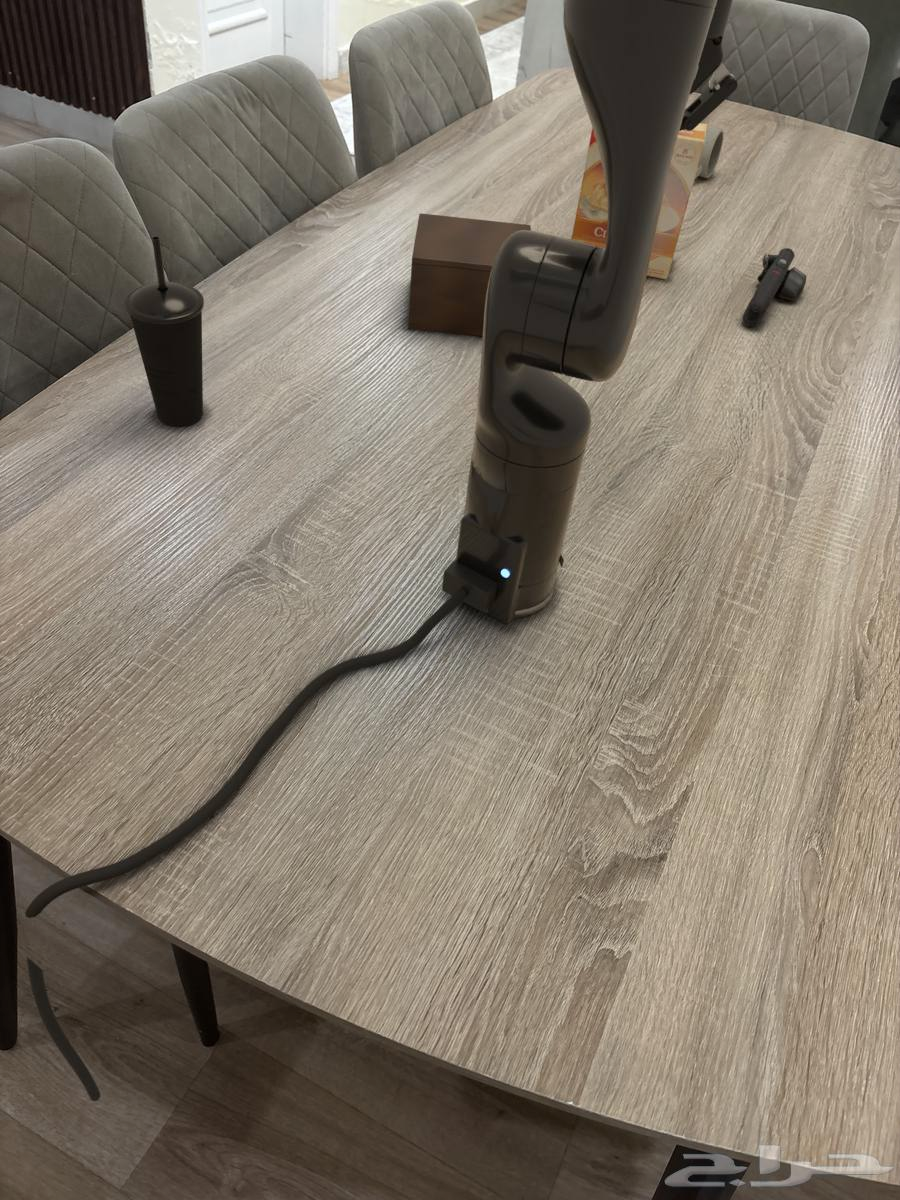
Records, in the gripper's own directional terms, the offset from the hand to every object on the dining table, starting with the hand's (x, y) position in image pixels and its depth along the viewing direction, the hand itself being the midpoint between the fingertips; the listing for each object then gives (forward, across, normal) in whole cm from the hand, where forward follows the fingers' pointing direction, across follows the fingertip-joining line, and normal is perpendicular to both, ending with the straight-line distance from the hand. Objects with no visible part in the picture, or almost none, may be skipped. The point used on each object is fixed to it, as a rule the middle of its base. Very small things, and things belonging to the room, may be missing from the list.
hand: (650, 169), depth 96 cm
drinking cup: (+27, -47, -14) cm, 56 cm away
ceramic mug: (+25, +21, +71) cm, 78 cm away
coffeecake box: (+25, +6, +35) cm, 43 cm away
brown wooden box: (+26, -17, +16) cm, 34 cm away
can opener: (+25, +26, +26) cm, 45 cm away
